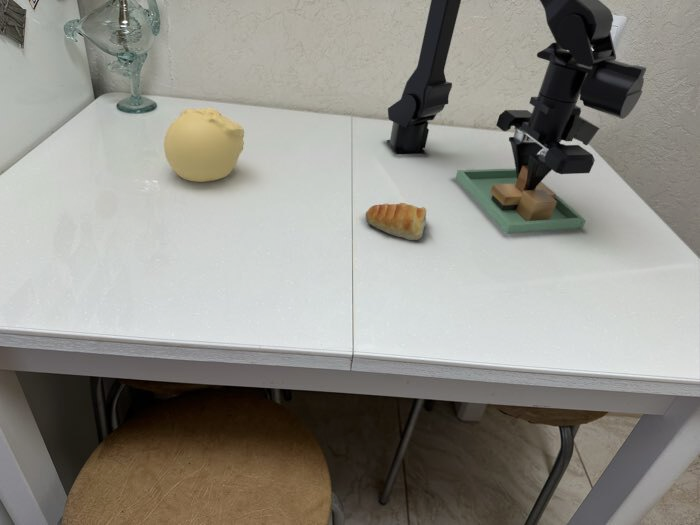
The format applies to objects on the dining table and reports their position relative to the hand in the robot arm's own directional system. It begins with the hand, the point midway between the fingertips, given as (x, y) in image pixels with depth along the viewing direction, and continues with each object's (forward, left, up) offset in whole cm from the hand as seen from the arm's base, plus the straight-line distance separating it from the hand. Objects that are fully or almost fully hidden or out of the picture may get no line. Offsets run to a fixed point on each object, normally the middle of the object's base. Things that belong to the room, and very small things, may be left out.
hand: (525, 186), depth 84 cm
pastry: (-24, -4, -4) cm, 25 cm away
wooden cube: (0, -4, -3) cm, 5 cm away
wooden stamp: (0, 0, -3) cm, 3 cm away
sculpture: (-52, +16, -4) cm, 55 cm away
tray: (0, +1, -4) cm, 4 cm away
